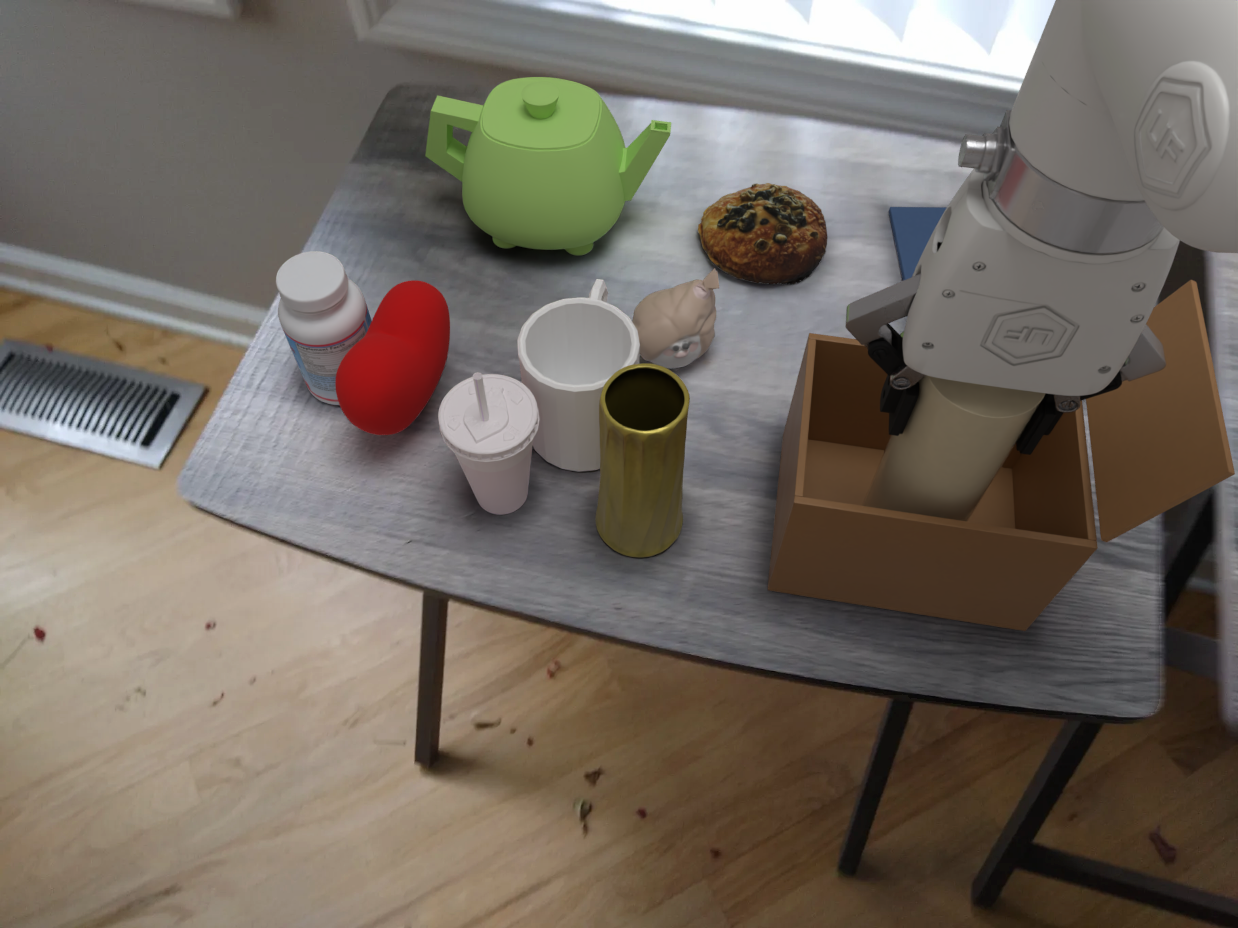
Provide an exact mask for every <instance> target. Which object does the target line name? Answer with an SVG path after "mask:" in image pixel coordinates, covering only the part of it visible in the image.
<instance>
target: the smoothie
mask: <svg viewBox="0 0 1238 928" xmlns="http://www.w3.org/2000/svg"><path fill="white" fill-rule="evenodd" d="M437 417H438V418H437V419H438V425H439V433H440V435H441V438H442V440H443V443H445V444H446V446H447V447H448V449H450V451H451V452H453V453H454V455H455V457H456V459H457V461H458V463H459V465H460V467H461V470H462V472H463V474H464V476H465V477H466V480H467V482H468V484H469V486H470V489H471V490H472V493H473V494H474V497H475V499H476V501H477V503H478V504H479V506H480V507H481V508H482V509H483V510H484V511H486V512H488V513H490V514H493V515H498V516H499V515H502V516H503V515H509V514H512V513H514V512H516V511H517V510H519V509H520V508H521V507H522V506H523V505H524V504H525V503H526V501H527V499H528V494H529V486H530V485H529V483H530V476H531V475H530V474H531V463H532V454H533V445H532V444H533V438H534V436H535V435H536V433H537V431H538V426H539V421H540V418H539V411H538V408H537V403H536V400H535V397H534V395H533V394H532V392H531V391H530V390H529V389H528V388H527V387H526V386H525V385H524V384H523V383H522V381H521V380H518V379H516V378H514V377H511V376H509V375H504V374H499V373H484V374H482V372H478V371H477V372H474V373H473V375H472V376H471V377H468V378H466V379H464V380H462V381H460V382H459V383H457V384H455V385H454V386H453V387H452V388H451V389H450V390H449V391H447V393H446V395H444V397H443V399H442V401H441V403H440V405H439V409H438V413H437Z"/></svg>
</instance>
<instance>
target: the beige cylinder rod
mask: <svg viewBox="0 0 1238 928" xmlns="http://www.w3.org/2000/svg"><path fill="white" fill-rule="evenodd" d="M1045 394H1046V393H1039V392H1031V391H1023V390H1016V389H1008V388H1001V387H994V386H987V385H980V384H973V383H966V382H959V381H953V380H947V379H941V378H935V377H931V376H927V375H926V376H925V377H924V378H922V379H921V380H920V381H919V396H918V400H917V402H916V404H915V406H914V409H913V411H912V413H911V416H910V418H909V420H908V422H907V425H906V427H905V429H904V432H903V434H899V436H894V435H891V436H890V438H889V441H888V443H887V445H886V448H885V450H884V453H883V455H882V457H881V460H880V462H879V465H878V467H877V469H876V472H875V474H874V477H873V479H872V481H871V484H870V486H869V489H868V491H867V493H866V496H865V498H864V501H863V503H862V505H861V506H867V507H873V508H880V509H887V510H893V511H900V512H907V513H913V514H920V515H927V516H933V517H940V518H947V519H953V520H960V521H967V522H968V521H969V519H970V517H971V516H972V514H973V513H974V511H975V509H976V508H977V506H978V504H979V503H980V501H981V499H982V498H983V496H984V494H985V493H986V491H987V490H988V488H989V486H990V485H991V483H992V481H993V480H994V478H995V476H996V475H997V473H998V472H999V470H1000V468H1001V467H1002V465H1003V463H1004V462H1005V460H1006V458H1007V457H1008V455H1009V454H1010V452H1011V450H1012V449H1013V447H1014V445H1015V444H1016V442H1017V440H1018V439H1019V437H1020V435H1021V434H1022V432H1023V431H1024V429H1025V427H1026V426H1027V424H1028V422H1029V421H1030V419H1031V417H1032V416H1033V414H1034V413H1035V411H1036V409H1037V408H1038V406H1039V404H1040V403H1041V401H1042V399H1043V398H1044V396H1045Z"/></svg>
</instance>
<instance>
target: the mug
mask: <svg viewBox="0 0 1238 928" xmlns="http://www.w3.org/2000/svg"><path fill="white" fill-rule="evenodd" d="M608 294H609V290H608V287H607V284H606V282H605V280H604V279H600V278H596V279H595V281H594V283H593V284H592V287H591V289H590V291H589V293H588V297H584V296H583V297H582V296H581V297H569V298H562V299H558V300H556V301H552V302H550V303H547V304H544V306H542V307H540V308H538V309H537V310H535V312H533V313H531V314H530V316H529V317H528V318H527V319H526V321H525V322H524V323H523V325H522V326H521V328H520V330H519V334H518V337H517V341H516V343H517V344H516V345H517V354H518V362H519V363H518V364H519V371H520V381H521V383H523V384H524V385H525V386H526V387H527V388H528V389H529V390H530V391H531V392H532V394H533V395H534V397H535V400H536V403H537V408H538V411H539V418H540V421H539V426H538V431H537V433H536V435H535V436H534V438H533V444H532V448H533V449H534V451H535V452H536V453H537V454H538V455H539V456H540V457H541V458H542V459H543V460H544V461H546V462H547V463H549V464H551V465H553V466H555V467H557V468H558V469H559V468H560V469H562V470H566V471H573V472H579V473H580V472H589V471H590V472H591V471H597V470H600V427H599V401H600V396H601V392H602V390H603V387H604V385H605V383H606V382H607V380H608V379H609V378H610V377H611V376H612V375H613V374H614V373H615V372H617V371H618V370H620V369H622V368H624V367H626V366H629V365H634V364H640V356H641V355H640V343H639V337H638V331H637V329H636V327H635V326H634V324H633V322H632V319H631V318H630V316H629V315H627V314H626V313H624V312H623V310H621V309H620V308H618V307H617V306H616V305H613V304H611V303H609V302H608V297H609V295H608Z"/></svg>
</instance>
